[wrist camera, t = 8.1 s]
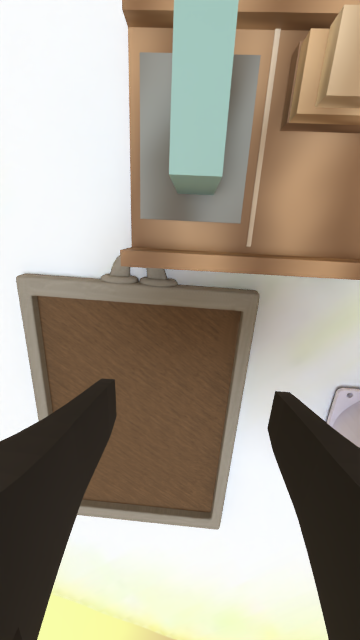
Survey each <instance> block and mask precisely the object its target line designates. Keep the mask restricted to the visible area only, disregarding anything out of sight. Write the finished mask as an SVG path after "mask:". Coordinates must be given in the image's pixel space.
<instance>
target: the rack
mask: <svg viewBox="0 0 360 640" xmlns="http://www.w3.org/2000/svg"><path fill="white" fill-rule="evenodd" d="M344 5H360V0H239V3H238V14H237V24H236V35H235V46H234V56H233V67H232V78H231V89H230V99H229V110H228V121H227V131H226V142H225V153H224V164H223V174H222V178H221V180H220V182H219V184H218V186H217V189H216V191H215V193H214V195H197V194H178V193H177V191H176V189H175V187H174V184H173V182H172V180H171V178H170V176H169V153H170V119H171V86H172V52H173V18H174V0H122V10H123V13H124V16H125V19H126V22H127V25H128V48H129V108H130V169H131V229H132V247H131V248H127V249H123V250H120V257H121V266H125V267H142V268H160V269H177V270H195V271H212V272H230V273H248V274H265V275H283V276H300V277H318V278H335V279H353V280H360V133H333V132H304V131H280V129H281V123H282V116H283V110H284V103H285V97H286V90H287V84H288V77H289V71H290V64H291V58H292V55H293V53H294V51H295V49H296V47H297V45H298V44H299V42H300V41H304V40H305V38H306V36H307V35H308V33H309V31H310V29H311V28H316V29H330V26H331V24H332V23H333V21H334V20H335V18H336V17H337V15H338V14H339V12H340V11H341V9H342V7H343V6H344Z"/></svg>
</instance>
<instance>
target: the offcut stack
mask: <svg viewBox="0 0 360 640" xmlns="http://www.w3.org/2000/svg"><path fill="white" fill-rule="evenodd" d="M280 131H304V132H333V133H360V5H344V6H343V7H342V9H341V11H340V12H339V14H338V15H337V17H336V18H335V20H334V21H333V23H332V24H331V26H330V29H316V28H311V29H310V31H309V33H308V35H307V36H306V38H305V40H304V41H300V42H299V44H298V45H297V47H296V49H295V51H294V53H293V55H292V58H291V64H290V71H289V77H288V84H287V90H286V97H285V103H284V110H283V116H282V123H281V129H280Z"/></svg>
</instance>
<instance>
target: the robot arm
mask: <svg viewBox="0 0 360 640" xmlns="http://www.w3.org/2000/svg"><path fill="white" fill-rule="evenodd" d="M348 393H350V394H349V395H347V394H348ZM116 417H117V413H116V391H115V379H104V378H102V379H100V380H99V381H97V382H96V383H94V384H93V385H92V386H90V387H89V388H88V389H86V390H85V391H84V392H82V393H81V394H79V395H78V396H77V397H75V398H74V399H72V400H71V401H70V402H68V403H67V404H65V405H64V406H62V407H61V408H59V409H58V410H56V411H55V412H53V413H52V414H50V415H48V416H47V417H45V418H44V419H42V420H40V421H39V422H37V423H35V424H33V425H32V426H30V427H28V428H26V429H24V430H22V431H21V432H19V433H17V434H15V435H13V436H11V437H9V438H7V439H4V440H2V441H0V640H37V637H38V635H39V631H40V628H41V624H42V621H43V618H44V614H45V611H46V608H47V604H48V601H49V598H50V595H51V591H52V588H53V585H54V582H55V579H56V576H57V573H58V569H59V566H60V563H61V560H62V557H63V554H64V551H65V548H66V545H67V542H68V539H69V536H70V533H71V530H72V527H73V524H74V521H75V519H76V516H77V513H78V510H79V507H80V504H81V502H82V499H83V496H84V494H85V492H86V489H87V487H88V485H89V482H90V480H91V478H92V476H93V474H94V472H95V469H96V467H97V465H98V463H99V461H100V458H101V456H102V454H103V452H104V450H105V447H106V445H107V443H108V441H109V438H110V436H111V433H112V430H113V426H114V423H115V420H116ZM268 432H269V436H270V441H271V445H272V449H273V452H274V455H275V458H276V460H277V463H278V466H279V469H280V471H281V474H282V476H283V479H284V482H285V484H286V487H287V490H288V492H289V495H290V498H291V500H292V503H293V505H294V508H295V511H296V514H297V517H298V520H299V524H300V527H301V531H302V535H303V538H304V542H305V545H306V549H307V552H308V556H309V560H310V564H311V568H312V572H313V576H314V579H315V583H316V587H317V591H318V596H319V600H320V604H321V608H322V612H323V616H324V621H325V625H326V629H327V633H328V638H329V640H360V389H352V388H340V389H338V390H337V391H336V394H335V397H334V400H333V403H332V407H331V410H330V413H329V416H328V420H327V423H326V422H325V421H324V420H322V419H321V418H320V417H319V416H318V415H316V414H315V413H314V412H313V411H312V410H310V409H309V408H308V407H307V406H306V405H304V404H303V403H302V402H301V401H300V400H298V399H297V398H296V397H295V396H294V395H292V394H291V393H290V392H277V391H275V395H274V400H273V405H272V410H271V415H270V419H269V424H268Z"/></svg>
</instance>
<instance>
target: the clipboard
mask: <svg viewBox="0 0 360 640" xmlns="http://www.w3.org/2000/svg"><path fill="white" fill-rule="evenodd" d="M129 270H130V267H125V266H121V257H120V256H119V257H118V258H117V259H116V260H115V262H114V264H113V266H112V269H111V272H110V274H105V275H103V276H101V279H93V278H79V277H65V276H51V275H37V274H22V275H19V276H17V277H16V282H17V288H18V295H19V301H20V307H21V313H22V320H23V326H24V332H25V338H26V344H27V351H28V357H29V363H30V369H31V375H32V382H33V388H34V394H35V400H36V406H37V413H38V419H39V421H40V420H42V419H44V418H45V417H47V416H48V415H50V414H52V413H53V412H55V411H56V410H58V409H59V408H61V407H62V406H64V405H65V404H67V403H68V402H70V401H71V400H72V399H74V398H75V397H77V396H78V395H79V394H81V393H82V392H84V391H85V390H86V389H88V388H89V387H90V386H92V385H93V384H94V383H96V382H97V381H99V380H100V379H102V378H104V379H115V391H116V413H117V417H116V420H115V423H114V426H113V430H112V433H111V436H110V438H109V441H108V443H107V445H106V447H105V450H104V452H103V454H102V456H101V458H100V461H99V463H98V465H97V467H96V469H95V472H94V474H93V476H92V478H91V480H90V482H89V485H88V487H87V489H86V492H85V494H84V496H83V499H82V502H81V504H80V507H79V510H78V513H77V515H84V516H94V517H103V518H113V519H122V520H132V521H141V522H151V523H160V524H170V525H179V526H189V527H198V528H208V529H219V527H220V522H221V516H222V510H223V505H224V499H225V493H226V487H227V482H228V476H229V470H230V464H231V459H232V453H233V447H234V441H235V435H236V430H237V424H238V418H239V412H240V407H241V401H242V395H243V389H244V384H245V378H246V372H247V366H248V361H249V355H250V349H251V343H252V338H253V332H254V326H255V320H256V315H257V309H258V303H259V293H258V292H257V291H255V290H244V289H230V288H217V287H203V286H189V285H177V282H176V281H175V280H174V279H169V278H168V279H167V277H166V274H165V271H164V269H160V268H147V277H143V278H141V279H140V282H138V279H137V278H136V277H134V276H130V272H129Z"/></svg>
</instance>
